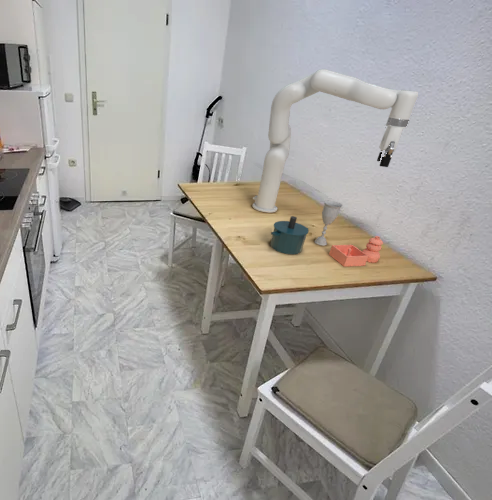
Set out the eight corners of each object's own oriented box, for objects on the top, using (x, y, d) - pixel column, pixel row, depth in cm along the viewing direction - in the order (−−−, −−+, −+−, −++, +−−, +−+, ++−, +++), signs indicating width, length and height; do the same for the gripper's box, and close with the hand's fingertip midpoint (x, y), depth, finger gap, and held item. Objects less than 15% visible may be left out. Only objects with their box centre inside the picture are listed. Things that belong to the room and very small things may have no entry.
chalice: (308, 238, 159) (320, 200, 150) (323, 238, 159) (336, 200, 151) (317, 246, 152) (330, 206, 144) (332, 246, 153) (346, 207, 144)
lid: (266, 225, 149) (269, 213, 147) (290, 221, 154) (293, 209, 152) (290, 239, 139) (293, 226, 136) (315, 234, 144) (319, 221, 141)
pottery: (343, 266, 138) (352, 243, 134) (328, 254, 146) (336, 232, 142) (384, 264, 141) (394, 242, 137) (368, 252, 149) (376, 231, 145)
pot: (259, 243, 152) (263, 225, 148) (290, 237, 159) (295, 220, 155) (280, 257, 142) (285, 238, 138) (312, 250, 149) (318, 231, 145)
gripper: (384, 119, 158) (370, 158, 166) (389, 124, 144) (374, 167, 152) (404, 121, 155) (389, 161, 163) (411, 127, 141) (395, 170, 149)
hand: (382, 163), depth 158 cm, fingers open, 9 cm apart
